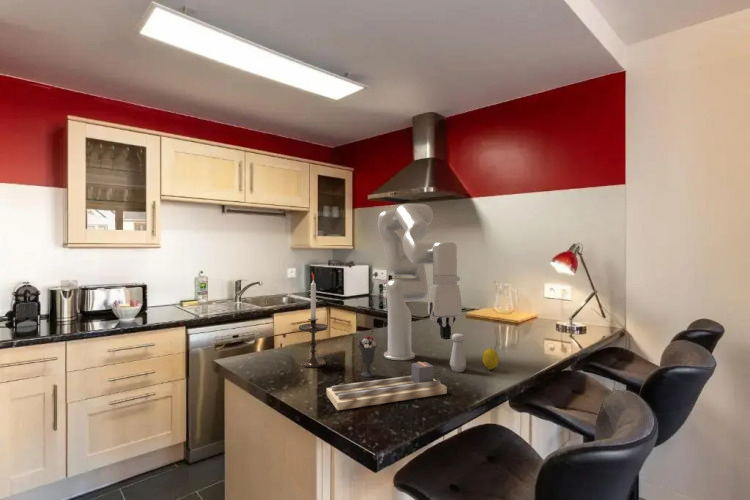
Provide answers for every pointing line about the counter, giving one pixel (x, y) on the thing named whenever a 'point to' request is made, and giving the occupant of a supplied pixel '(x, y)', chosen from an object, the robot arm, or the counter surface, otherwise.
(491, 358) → the lemon
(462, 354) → the salt shaker
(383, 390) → the fader board
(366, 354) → the sundae
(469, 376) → the counter surface
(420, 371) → the fader knob
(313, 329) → the candlestick
